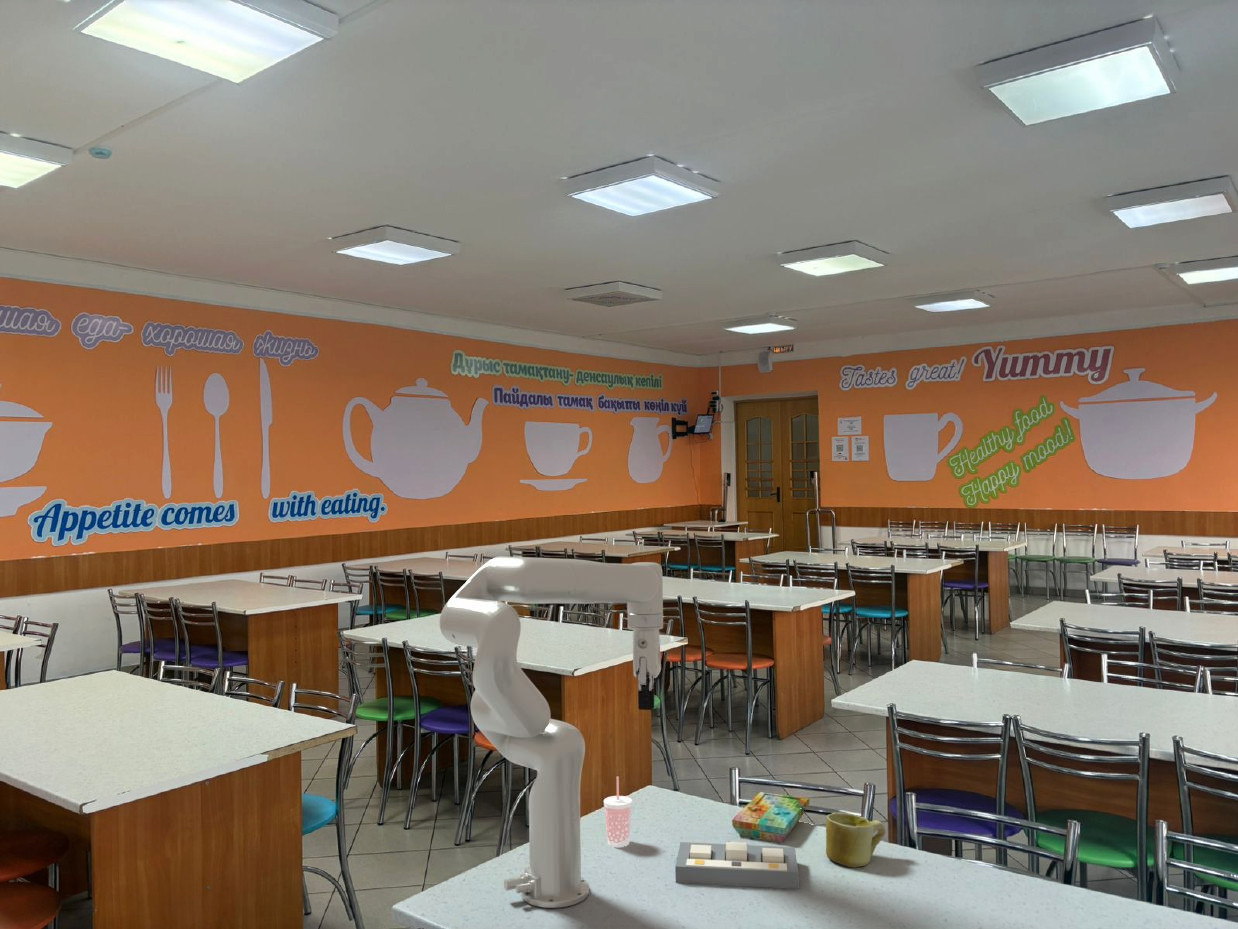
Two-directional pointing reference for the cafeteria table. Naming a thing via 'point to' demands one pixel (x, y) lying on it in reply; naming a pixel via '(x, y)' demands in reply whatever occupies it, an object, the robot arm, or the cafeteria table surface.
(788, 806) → the puzzle game
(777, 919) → the cafeteria table surface
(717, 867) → the button board
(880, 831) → the mug
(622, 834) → the beverage cup
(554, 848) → the robot arm
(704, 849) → the button left
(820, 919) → the cafeteria table surface
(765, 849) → the button right
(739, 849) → the button middle
